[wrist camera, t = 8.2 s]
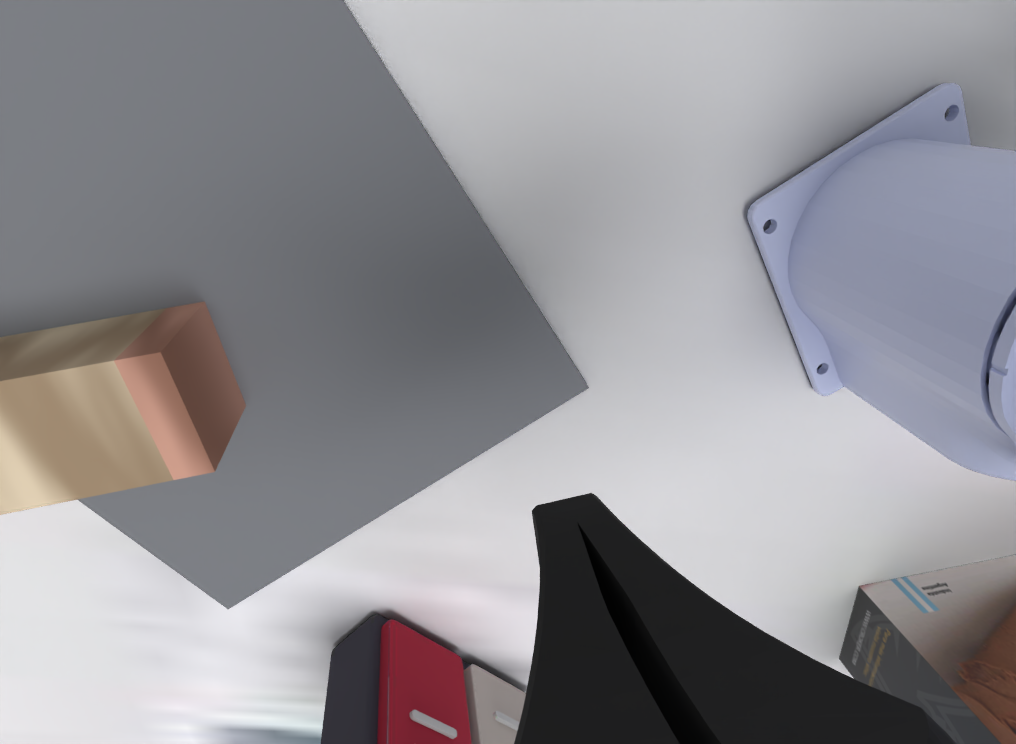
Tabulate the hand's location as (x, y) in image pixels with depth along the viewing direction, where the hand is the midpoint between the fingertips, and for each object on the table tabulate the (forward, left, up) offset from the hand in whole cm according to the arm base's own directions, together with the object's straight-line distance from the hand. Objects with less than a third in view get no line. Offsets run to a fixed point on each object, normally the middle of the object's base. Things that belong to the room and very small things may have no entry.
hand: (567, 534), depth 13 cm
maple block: (+5, +8, -8) cm, 12 cm away
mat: (+6, +7, -10) cm, 14 cm away
